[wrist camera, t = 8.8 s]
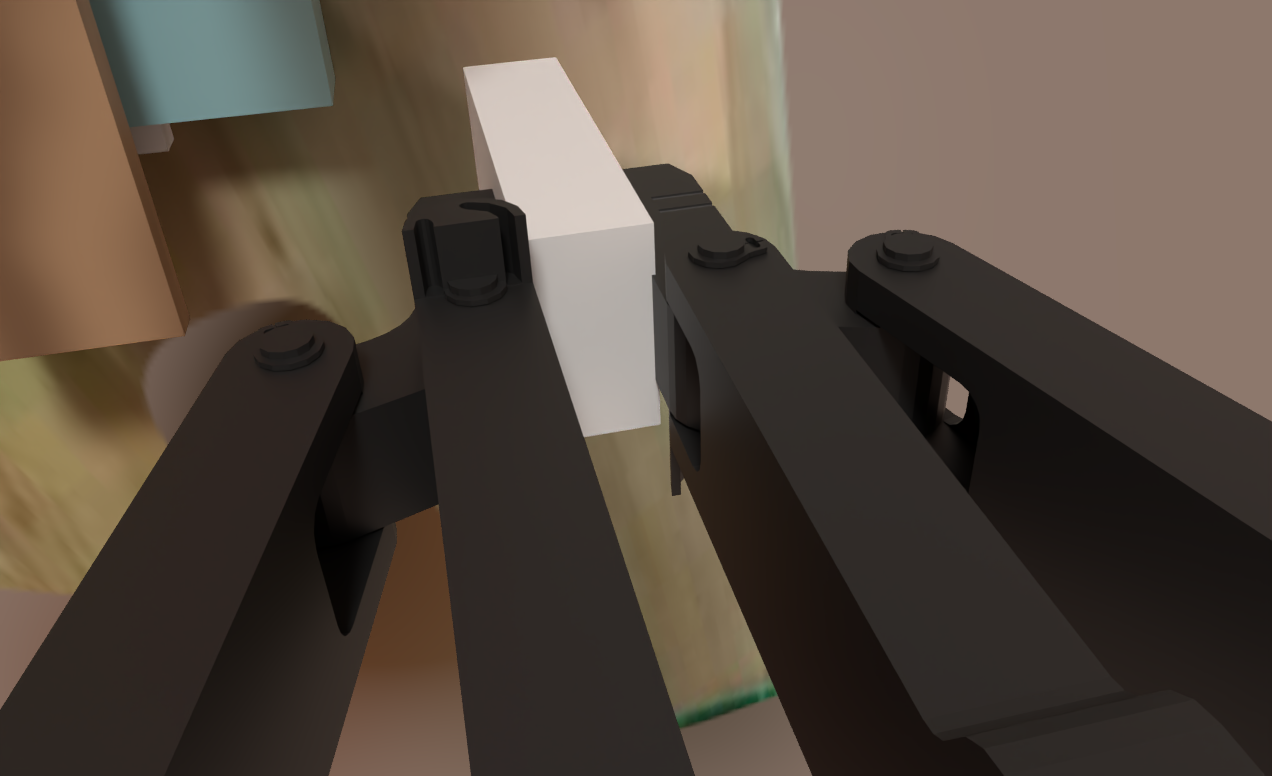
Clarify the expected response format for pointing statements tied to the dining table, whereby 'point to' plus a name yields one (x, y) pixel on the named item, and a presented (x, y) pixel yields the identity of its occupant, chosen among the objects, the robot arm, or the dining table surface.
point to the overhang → (75, 194)
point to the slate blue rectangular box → (215, 57)
